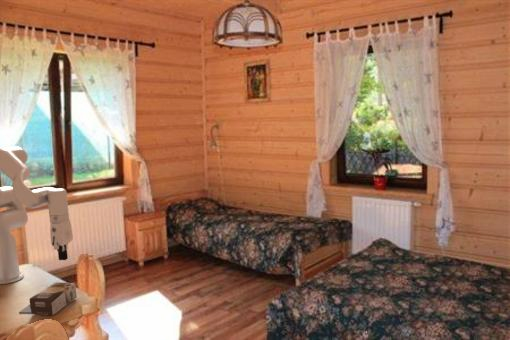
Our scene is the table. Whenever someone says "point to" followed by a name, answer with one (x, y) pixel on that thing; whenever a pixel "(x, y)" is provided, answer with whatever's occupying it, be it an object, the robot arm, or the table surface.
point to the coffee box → (53, 298)
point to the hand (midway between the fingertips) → (63, 259)
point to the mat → (26, 310)
